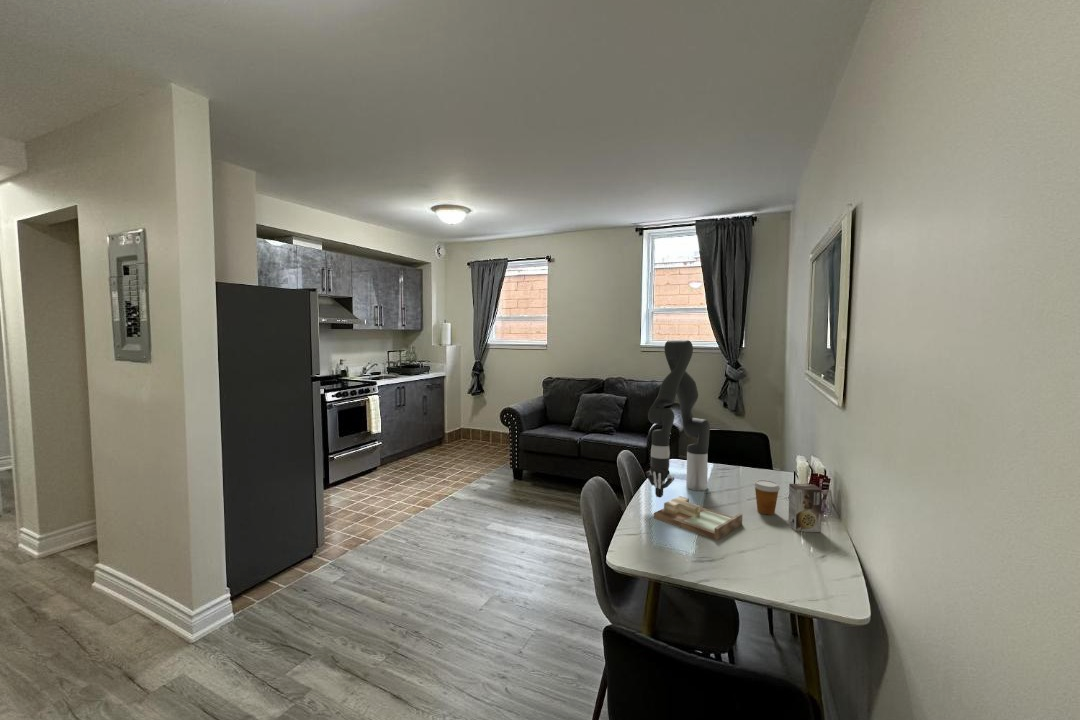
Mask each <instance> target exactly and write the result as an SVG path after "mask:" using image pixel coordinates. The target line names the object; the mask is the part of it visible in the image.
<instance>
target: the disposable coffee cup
mask: <svg viewBox="0 0 1080 720" xmlns="http://www.w3.org/2000/svg"><path fill="white" fill-rule="evenodd" d="M753 486H754V489H755V490H754V491H755V500H756V508H757V509H756V510H757V511H756V512H758V513H759V512H760V514H763V515H766V514H768V516H773V515H775V514H774V513H776V508H777V507H776V506H777V502H778V496H779V491H780V485H779V483H777V482H775V481H773V480H767V479H758V480H755V481H754V483H753ZM772 514H773V515H772Z"/></svg>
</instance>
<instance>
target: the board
mask: <svg viewBox="0 0 1080 720" xmlns="http://www.w3.org/2000/svg"><path fill="white" fill-rule="evenodd" d="M653 518H654V519H657V520H659V521H662V522H665V523H668V524H670V525H674V526H675V527H679V528H681V529H684V530H686V531H687V530H688V531H690V532H693V533H695V534H699V535H701V536H704V537H708V538H710V539H713V540H715V541H718V540H719V539H721V538H723V537H725V536H726V535H727V534H729V533H731V532H733V531H734V530H735V529H737V528H739V527H740V526H742V525H743V513H738V514H737V515H735V516H732V515H729V514H725V513H722V512H720V511H716V510H712V509H710V508H707V507H702V506H700V515H698V516H696V517H692V516H689V515H686V514H683V513H680V512H678V513H676V514H673V515H672V514H669V513H666V512H664V508H662V509H660V510H657V511H655V512H653Z"/></svg>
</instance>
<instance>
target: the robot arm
mask: <svg viewBox="0 0 1080 720" xmlns="http://www.w3.org/2000/svg"><path fill="white" fill-rule="evenodd" d="M693 352H694V346H693V343H692V342H691V340H689V339H670V340H667V341H666V342H665V344H664V355H665V358H666V359H665V360H666V362H667V364H668V367H669V370H670V373H668V374H667V376H666V377H665V378H664V379H663V380H662V382H661V385H660V388H659V391H658V395H657V397H656V398H655V400H654V401H653V404H652V405H651V406H650V408H649V410H648V413H647V418H648V421H649V422H650V423H651V424H653V425H660V426H661V425H662V427H661V429H654V430H653V431H652V432H651V449H650V468H649V470H648V471H646V472H645V475H646V477H647V479H648V482H649V483H650V484H651V486H654V488H655V490H654V491H655V496H656V498H662V497H663V496H664V489H667V488H668V487H669V486H670V485H671V484H672V483H673V481H674V480H675V477H674V476H672V475H671V474H670V469H669V468H670V454H671V452H670V451H671V450H670V435H671V431H672V427H673V425H674V422H675V412H674V410H672V408H668V407H667V408H666V406H671V405H673V404H674V403H675V401H676V397H677V401H678V403H679V408H680V414H681V419H682V420H681V421H682V427H683V431H684V433H685V435H686V436H687V437H690V438H695V439H698V440H697V442H696V443H691V444H687V446H686V447H687V448H686V480H685V481H686V482H685V483H686V488H687V489H688V490H691V491H699V492H700V491H707V489H708V472H709V471H708V453H709V451H708V450H709V447H710V446H709V445H710V442H709V441H710V430H711V429H710V428H711V426H710V422H709V421H708V419H705V418H698V417H694V416H693V413H692V411H693V408H694V407H695V405H696V403H697V401H698V398H699V392H698V391H699V390H698V387H697V383H696V381H695V380H694V378H693V376H691V375H690V374H689V373H688V371H686V370H687V368H688V366H689V364H690V361H691V359H692V356H693Z"/></svg>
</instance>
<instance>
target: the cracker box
mask: <svg viewBox="0 0 1080 720" xmlns="http://www.w3.org/2000/svg"><path fill="white" fill-rule="evenodd" d="M788 490H789V491H788V518H787V519H788V520H787V521H788V526H789V527H790V528H792V529H793V530H794V531H795V532H800V531H801V532H803V531H804V533H805V532H806V533H807V532H808V533H822V501H823V500H822V497H823V496H822V495H823V494H822V493H823V489H821V488H819V486H817V485H816V484H814V483H812V484H811V483H789V487H788Z"/></svg>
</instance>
